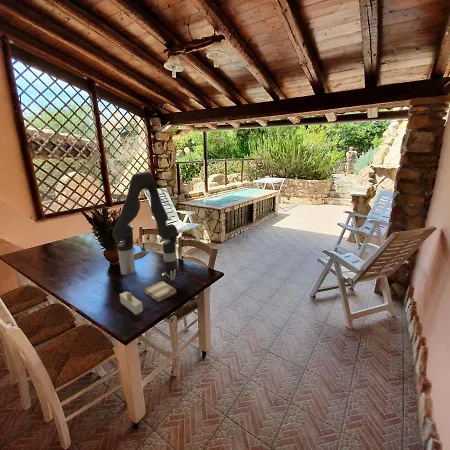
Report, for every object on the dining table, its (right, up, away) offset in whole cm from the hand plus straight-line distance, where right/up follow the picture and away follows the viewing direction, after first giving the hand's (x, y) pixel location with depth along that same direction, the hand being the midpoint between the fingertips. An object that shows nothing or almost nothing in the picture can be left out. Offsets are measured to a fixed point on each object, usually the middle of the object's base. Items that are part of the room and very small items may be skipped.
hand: (172, 284), depth 151 cm
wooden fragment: (-38, +11, +43) cm, 58 cm away
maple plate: (-6, -4, -5) cm, 9 cm away
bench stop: (-18, -7, -18) cm, 26 cm away
